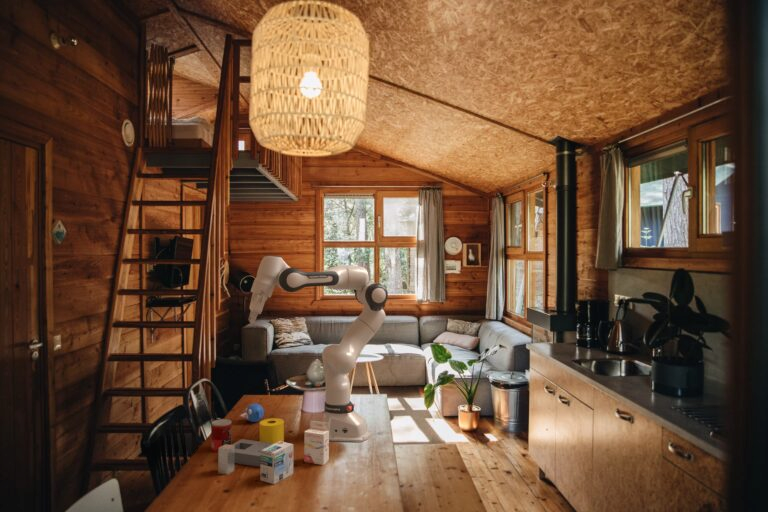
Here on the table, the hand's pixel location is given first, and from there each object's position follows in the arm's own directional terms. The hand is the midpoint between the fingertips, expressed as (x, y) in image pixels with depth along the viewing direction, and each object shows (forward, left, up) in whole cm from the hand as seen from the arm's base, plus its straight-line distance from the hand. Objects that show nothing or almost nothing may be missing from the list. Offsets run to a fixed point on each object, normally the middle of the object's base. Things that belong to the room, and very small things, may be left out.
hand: (250, 322), depth 204 cm
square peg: (-7, +25, -52) cm, 58 cm away
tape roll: (-8, -4, -52) cm, 53 cm away
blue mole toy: (+17, -26, -52) cm, 60 cm away
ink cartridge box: (-34, +6, -52) cm, 62 cm away
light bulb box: (-27, +23, -52) cm, 63 cm away
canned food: (+9, +7, -52) cm, 53 cm away
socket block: (-9, +11, -52) cm, 53 cm away
